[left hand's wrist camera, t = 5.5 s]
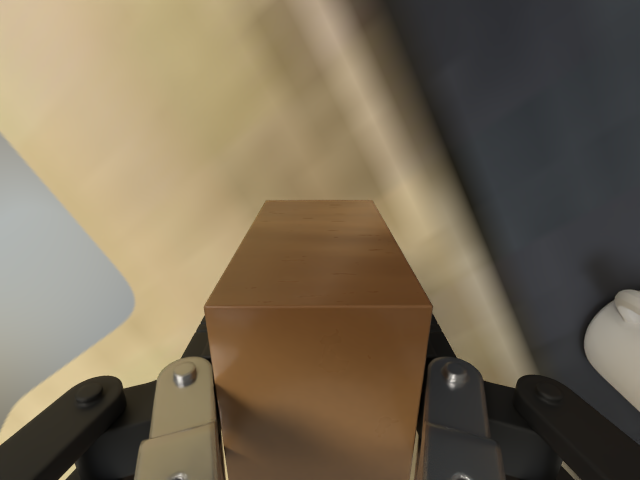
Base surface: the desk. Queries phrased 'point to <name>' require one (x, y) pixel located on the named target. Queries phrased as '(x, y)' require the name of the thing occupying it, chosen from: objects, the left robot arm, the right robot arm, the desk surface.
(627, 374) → the mug
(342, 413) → the bar
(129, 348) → the desk surface
